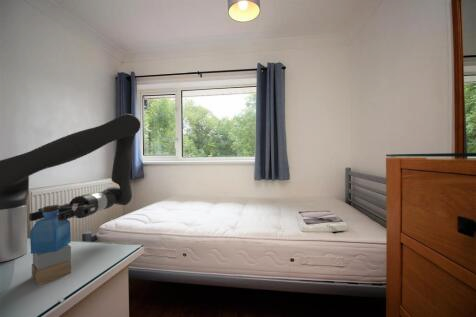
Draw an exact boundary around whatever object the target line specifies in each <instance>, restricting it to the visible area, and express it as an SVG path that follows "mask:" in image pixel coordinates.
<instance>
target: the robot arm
mask: <svg viewBox="0 0 476 317" xmlns="http://www.w3.org/2000/svg"><path fill="white" fill-rule="evenodd" d="M140 129H141V121H140V119H139V118H138V117H137V116H136V115H133V114H131V113H124V114H123V113H122V114H120V115H118V117H115V118H114V119H112V120H110V121H108V122H106V123H103V124H101V125H97V126H95V127H91V128H87V129H82V130H79V131H77V132H76V131H75V132H73V133H71V134H68V135H65V136H62V137H60V138H57V139H54V140H52V141H50V142H47V143H46V144H43V145H40V146H39V147H37V148H34V149H32V150H30V151H27V152H24V153H21V154H17V155H15V156H11V157H8V158H4V159H1V160H0V263H2V262H7V261H11V260H15V259H19V258H20V257H23V256H25V255H26V254H28V220H29V221H30V222H34V221H38V220H40V219H43V218H44V216H43V211H44V209H43V207H42V208H39V209H38V208H37V209H38V210H37V211H34V212H31V213H30V212H29V215H28V212H27V201H28V197H29V193H30V192H29V189H30V186H29V185H30V176H32V175H34V174H36V173H39V172H40V171H43V170H46V169H50V168H53V167H56V166H60V165H64V164H67V163H70V162H73V161H76V160H77V159H80V158H82V157H84V156H87V155H88V154H91V153H93V152H96V151H97V150H98V149H100V148H102V147H105V146H106V145H107V144H110V143H112V142H115V141H116V148H115V155H114V159H113V162H112V163H113V164H112V171H111V179H110V180H111V181H112V182H113V183H115V184H117V185H118V186H119V187H116V186H113V187H107V188H106V189H104V190H103V191H99V192H92V193H88V194H82V195H77V196H75V197H73V198H72V199H71V200H70V202H68V203H67V202H66V203H63V204H57V205H58V207H57V209H59V213H58V214H57V215H58V221H63V220H66V219H67V220H68V219H71V218H72V219H73V218H74V219H75V218H77V219H84V218H87V217H89V216H92V215H95V214H97V213H99V212H102V211H103V210H107V209H109V208H111V207H113V206H114V205H120V206H127V205H128V204H129V203H130V202H131V200H132V197H133V193H132V192H133V190H132V185H131V171H132V160H133V158H132V155H133V154H132V153H133V144H134V140H135V137H136V134H137V133H138V132H139V131H140ZM27 215H28V216H27Z"/></svg>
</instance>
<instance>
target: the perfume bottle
mask: <svg viewBox="0 0 476 317" xmlns="http://www.w3.org/2000/svg"><path fill="white" fill-rule="evenodd" d="M58 205H59V204H53V205H47V206H44V207H42V208H43V209H44V211H43V216H44V218H42V219H38V220H36V222H35V224H34V225H33V227H32V228H31V229H30V231H29V233H30V234H29V236H30V239H29V240H30V242H29V243H30V255H33V254H34V253H45V252H56V251H58V250H60V249H61V248H63V247H64V246H66V245H67V244H68V245H70V243H71V241H72V240H71V239H72V238H71V221H69V220H68V219H66V220H63V221H58V214H59V209H57V207H58Z"/></svg>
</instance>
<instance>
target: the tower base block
mask: <svg viewBox="0 0 476 317" xmlns="http://www.w3.org/2000/svg"><path fill="white" fill-rule="evenodd" d="M71 273H72V259H71V260H69V261H66V262H63V263H60V264H57V265H54V266H51V267H48V268H45V269H42V270H39V271H38V269H37V268H36V267H35V265H34V264H33V263H32V264H31V277H32V280H34V282H35V283H36V285H38V286H40V285H42V284H43V285H44V284H46V283H47V282H51V281H53V280H56V279H58V278H61V277H64V276H66V275H69V274H71Z"/></svg>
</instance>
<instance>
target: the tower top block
mask: <svg viewBox="0 0 476 317" xmlns="http://www.w3.org/2000/svg"><path fill="white" fill-rule="evenodd" d="M69 260H71V261H72V246H71V245H70V244H67V245H66V246H64V247H63V248H61V249H60V250H58V251H56V252H45V253H34V254H32V264H34V265H35V267H36V268H37V269H38V271H39V270H42V269H45V268H48V267H51V266H54V265H57V264H60V263H63V262H66V261H69Z"/></svg>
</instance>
